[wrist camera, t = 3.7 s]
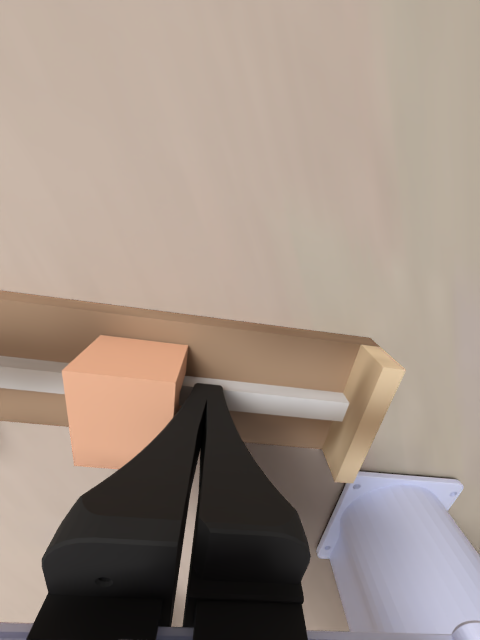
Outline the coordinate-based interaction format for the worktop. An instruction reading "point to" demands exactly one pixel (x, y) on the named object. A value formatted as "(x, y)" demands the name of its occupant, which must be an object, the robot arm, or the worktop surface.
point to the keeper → (121, 397)
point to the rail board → (211, 372)
